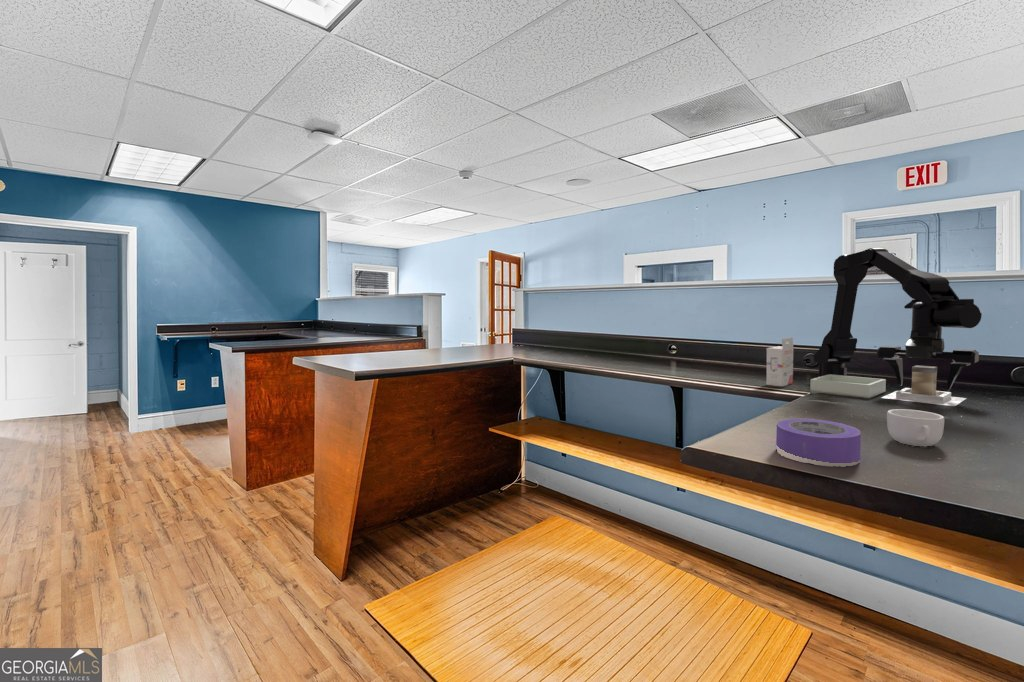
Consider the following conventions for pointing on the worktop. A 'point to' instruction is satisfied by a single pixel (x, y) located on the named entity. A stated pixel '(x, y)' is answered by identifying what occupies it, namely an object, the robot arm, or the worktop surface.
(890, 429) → the teacup
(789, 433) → the tape roll
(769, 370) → the ink cartridge box
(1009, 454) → the worktop surface
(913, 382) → the strut
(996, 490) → the worktop surface
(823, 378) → the bin
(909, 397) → the socket collar
